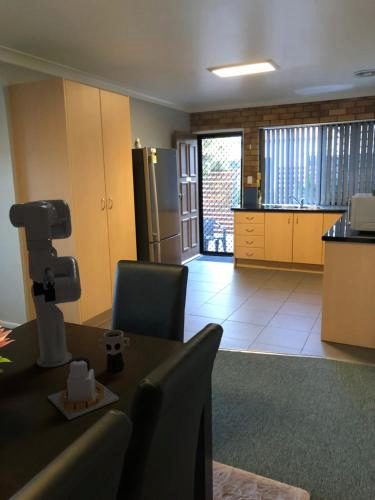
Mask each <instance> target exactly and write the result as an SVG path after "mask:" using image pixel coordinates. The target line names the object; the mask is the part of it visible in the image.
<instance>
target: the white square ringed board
mask: <svg viewBox="0 0 375 500" xmlns="http://www.w3.org/2000/svg"><path fill="white" fill-rule="evenodd" d="M94 381H95V392H94V396H93V399H91V400H89V401H86V402H76V403H75V402H70V401H68V392H67V388H66V389H63V390H60V391H57V392H55V393H52V394H50V395H47V397H48V398H47V399H48V400H49V401H50V402H51V404H53V405H54V407H56V408H57V409H58V411H60V412H61V413H62V415H63V416H64V417H66V418H67V420H68V421H70V420H72V419H75V418H78V417H80V416H83V415H85V414H88V413H90V412H92V411H95V410H98V409H101V408H102V407H105V406H107V405H110V404H112V403H115V402H117V401H119V400H120V399H119V396H118V395H116V394H115V393H113V392H112V391H111V390H110V389H108V388H107V387H106V386H105V385H103V384H102V383H100V381H98V380H97V379H96V378H94Z"/></svg>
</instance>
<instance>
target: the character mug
mask: <svg viewBox="0 0 375 500" xmlns="http://www.w3.org/2000/svg"><path fill="white" fill-rule="evenodd" d="M102 337H103V338H101V339H98V340H97V341H98V342H97V343H98V344H97V345H98V348H99V349H104V352H105V353H106V354H107V355H106V356H107V357H106V369H107V370H108V371H111V372H112V371H114V369H115V371H120V370H122V369H124V367H125V362H124V361H125V360H124V356H123V353H122V352H123V351H125V347H130V337H124V332H123V331H122V330H118V329H117V330H110V331H109V330H108V331H105V332H104V333H103V334H102ZM125 341H126V343H125ZM102 343H103V344H102Z"/></svg>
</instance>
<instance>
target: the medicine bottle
mask: <svg viewBox="0 0 375 500" xmlns="http://www.w3.org/2000/svg"><path fill="white" fill-rule="evenodd" d="M90 363H91V362H90V359H88V358H87V357H82V356H80V357H76V358H74V359H71V360H70V361H69V362H68V366H69V375H68V377H67V380H66V389H67V392H68V401H70V402H75V403H76V402H86V401H89V400H91V399H93V396H94V392H95V381H94V379H95V369H92V368H91V365H90Z"/></svg>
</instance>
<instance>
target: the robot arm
mask: <svg viewBox="0 0 375 500" xmlns="http://www.w3.org/2000/svg"><path fill="white" fill-rule="evenodd" d="M8 218H9V220H10V224H11V225H12V226H13V227H14V228H21V229H22V228H24V233H25V234H24V235H25V245H26V251H27V252H28V254H27V258H28V261H27V262H28V276H29V279H30V280H32V284H31V288H30V293H31V298H32V301H33V305H34V308H35V315H36V324H37V334H38V343H39V352H40V353H39V354H40V356H38V358H36V364H37V366H39V367H42V368H55V367H60V366H63V365H65V364H67V363H70V361H71V360H72V353H71V352H69V351H68V350H67V338H66V327H65V319H64V318H65V317H64V313H63V311H62V309H60V308H59V306H58V304H67V303H73V302H74V303H75V302H77V301H79V300H80V299H81V296H82V285H81V277H80V269H79V263H78V261H77V259H76V258H75V257H73V256H71V255H70V256H69V255H66V256H64V255H63V256H58V251H57V249H56V248H55V247H54V246H53V240H55V241H56V240H64V239H69V238H70V237H71V235H72V232H73V230H72V227H73V226H72V216H71V209H70V206H69V204H68V202H67V201H66V200H64V199H61V198H60V199H42V200H34V201H28V202H22V203H14V204H12V205H11V206H10V208H9V212H8Z"/></svg>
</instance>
